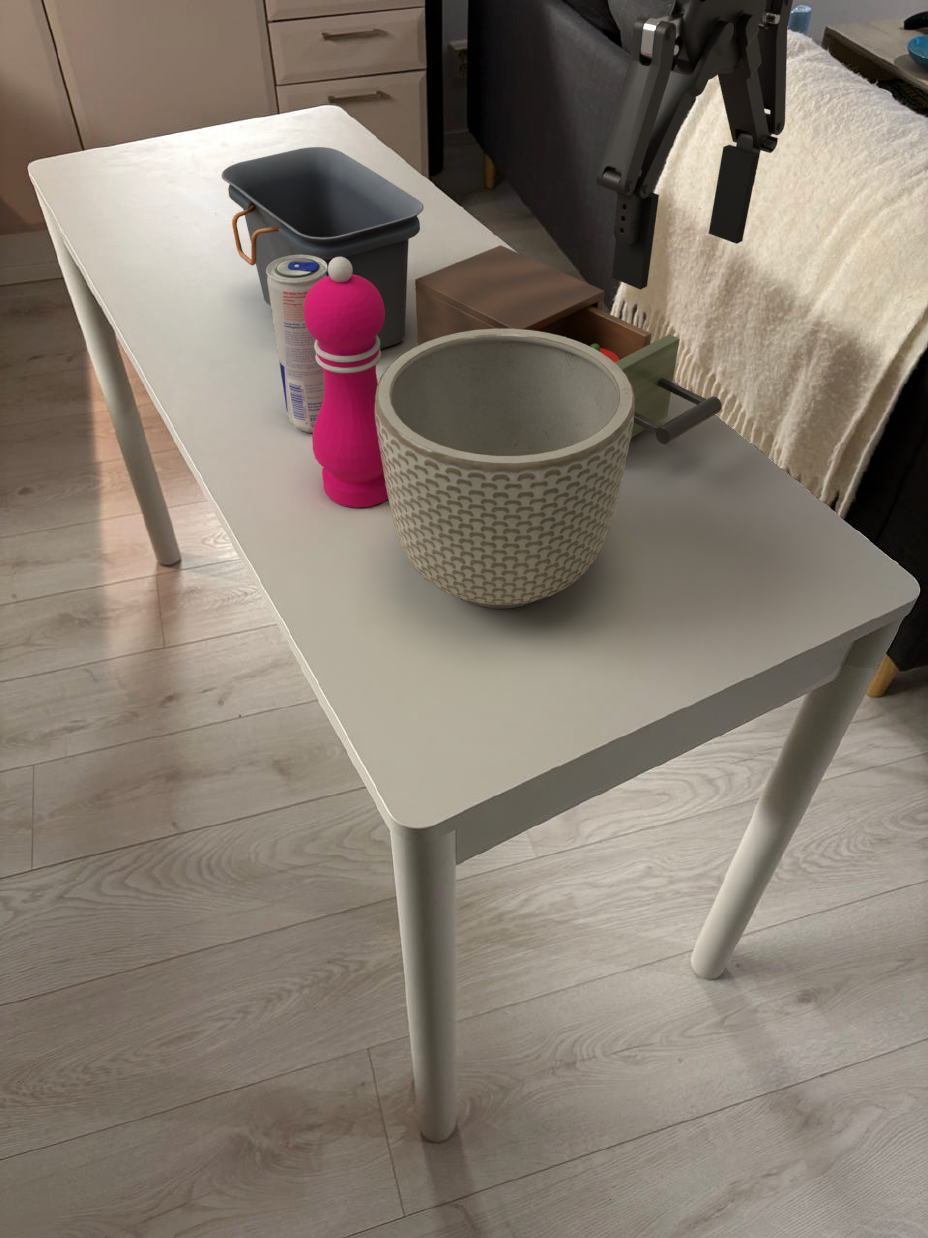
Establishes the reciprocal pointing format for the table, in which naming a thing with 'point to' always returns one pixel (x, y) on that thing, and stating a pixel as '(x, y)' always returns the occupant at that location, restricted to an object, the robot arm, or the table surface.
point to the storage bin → (328, 220)
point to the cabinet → (497, 295)
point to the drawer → (640, 370)
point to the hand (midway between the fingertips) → (679, 258)
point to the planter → (503, 460)
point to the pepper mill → (347, 384)
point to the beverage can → (296, 336)
